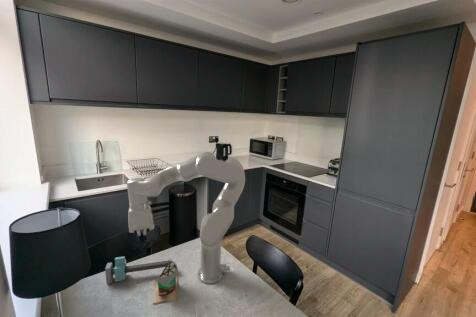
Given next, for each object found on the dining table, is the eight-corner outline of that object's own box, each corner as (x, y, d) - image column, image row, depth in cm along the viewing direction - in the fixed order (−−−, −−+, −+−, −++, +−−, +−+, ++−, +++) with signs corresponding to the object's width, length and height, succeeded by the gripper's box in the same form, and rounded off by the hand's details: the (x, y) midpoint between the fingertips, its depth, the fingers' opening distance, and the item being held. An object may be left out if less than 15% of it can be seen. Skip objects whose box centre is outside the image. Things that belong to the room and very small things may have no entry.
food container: (170, 300, 96) (170, 280, 94) (157, 298, 97) (156, 278, 95) (182, 279, 108) (182, 261, 106) (170, 277, 109) (169, 259, 107)
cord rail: (172, 268, 116) (172, 254, 115) (172, 273, 113) (172, 259, 111) (108, 277, 108) (107, 263, 106) (106, 284, 104) (105, 268, 103)
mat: (177, 277, 110) (176, 276, 110) (178, 299, 98) (178, 298, 98) (154, 281, 107) (154, 280, 107) (153, 304, 95) (153, 303, 95)
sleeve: (126, 271, 111) (125, 253, 108) (124, 279, 106) (123, 261, 103) (117, 273, 110) (116, 254, 107) (115, 281, 104) (113, 262, 102)
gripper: (156, 200, 108) (160, 234, 112) (122, 204, 104) (127, 240, 108) (156, 206, 101) (159, 243, 105) (118, 211, 97) (124, 249, 101)
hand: (143, 241), depth 107 cm, fingers closed
